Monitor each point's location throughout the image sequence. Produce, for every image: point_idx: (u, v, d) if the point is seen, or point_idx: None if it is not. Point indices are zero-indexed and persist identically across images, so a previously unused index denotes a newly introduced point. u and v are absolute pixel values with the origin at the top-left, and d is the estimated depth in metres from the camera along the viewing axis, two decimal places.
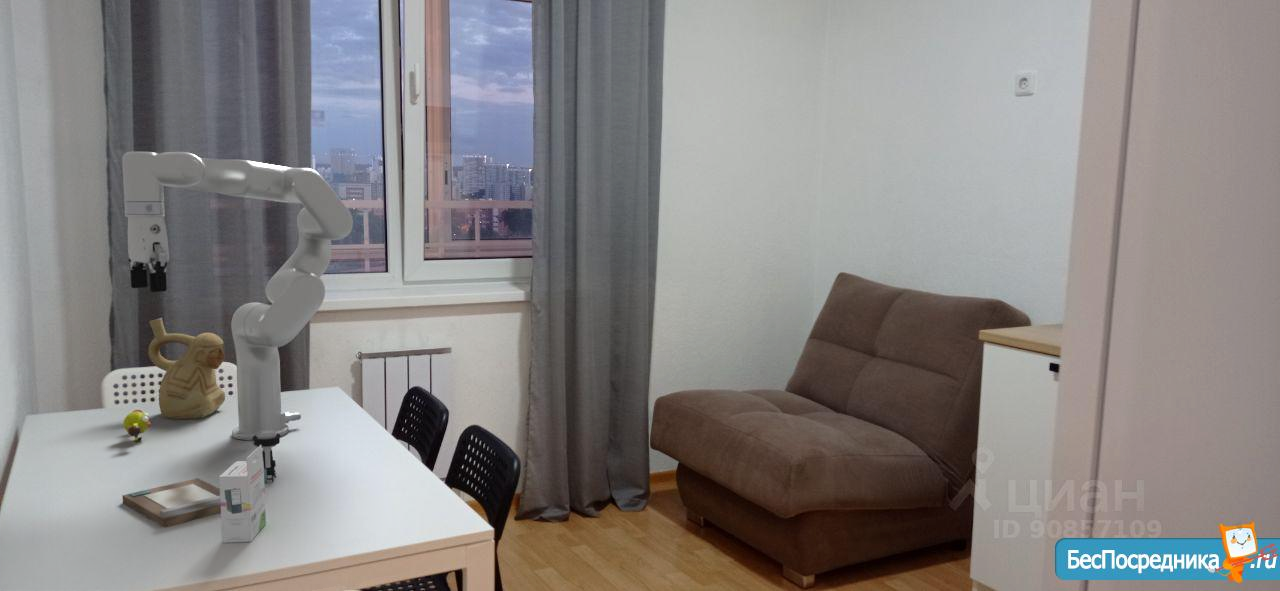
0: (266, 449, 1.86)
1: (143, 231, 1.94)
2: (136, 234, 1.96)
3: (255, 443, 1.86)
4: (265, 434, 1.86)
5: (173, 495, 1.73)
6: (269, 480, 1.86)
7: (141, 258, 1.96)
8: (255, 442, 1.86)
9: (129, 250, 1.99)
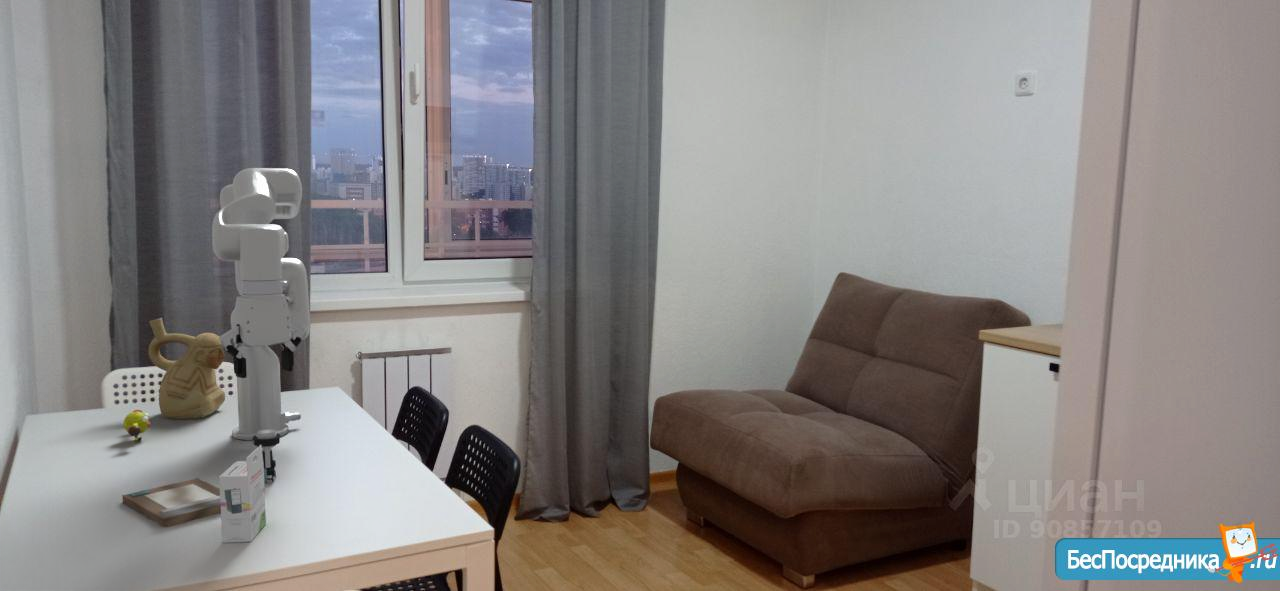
0: (266, 449, 1.86)
1: (286, 309, 1.85)
2: (275, 314, 1.83)
3: (255, 443, 1.86)
4: (265, 434, 1.86)
5: (173, 495, 1.73)
6: (269, 480, 1.86)
7: (280, 338, 1.85)
8: (255, 442, 1.86)
9: (251, 335, 1.80)
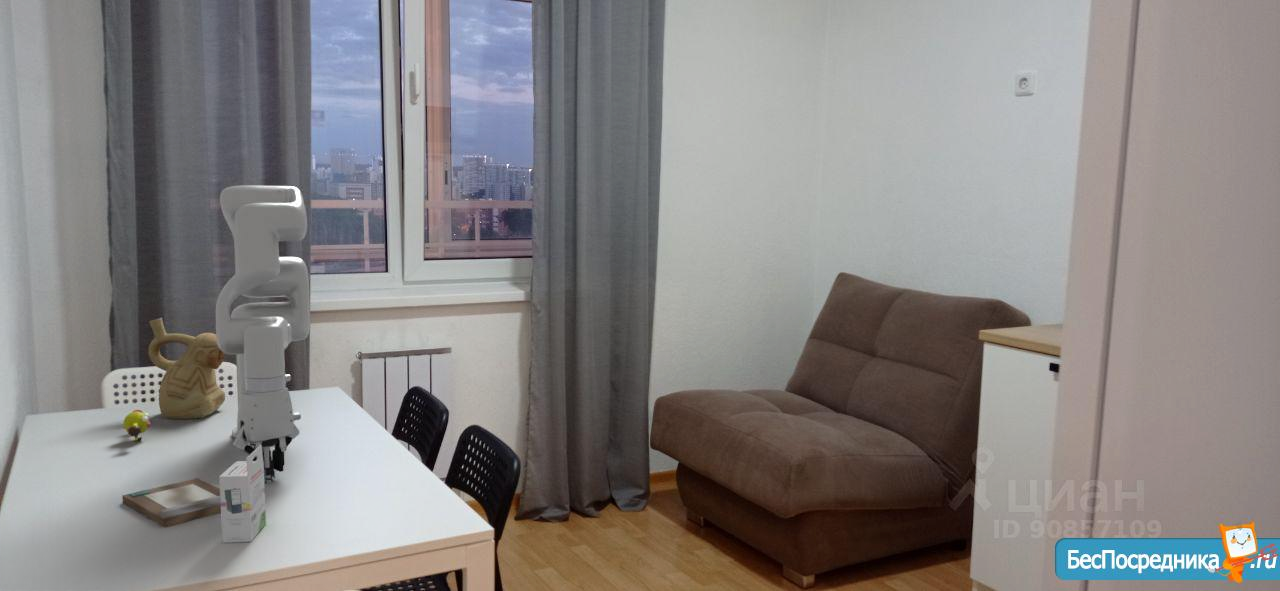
0: (265, 449, 1.86)
1: (289, 403, 1.88)
2: (278, 409, 1.86)
3: None
4: None
5: (173, 495, 1.73)
6: (268, 480, 1.86)
7: (283, 432, 1.87)
8: None
9: (255, 432, 1.83)
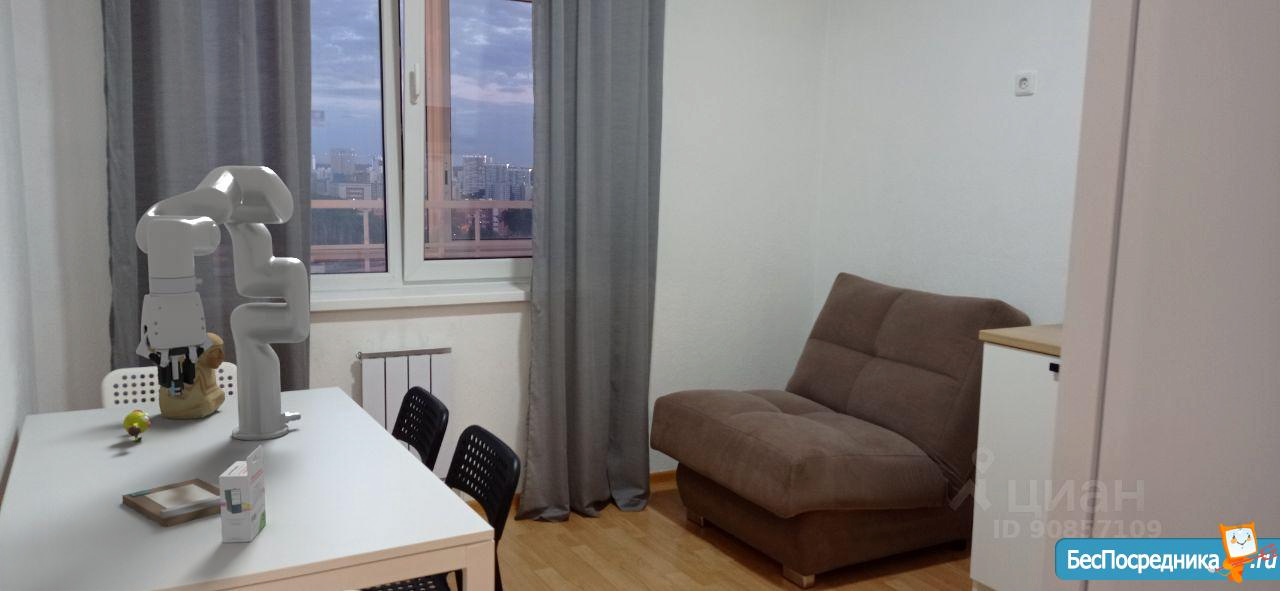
0: (173, 359, 1.69)
1: (200, 309, 1.71)
2: (187, 314, 1.69)
3: (160, 352, 1.68)
4: None
5: (173, 495, 1.73)
6: (177, 393, 1.69)
7: (193, 340, 1.70)
8: None
9: (159, 337, 1.65)
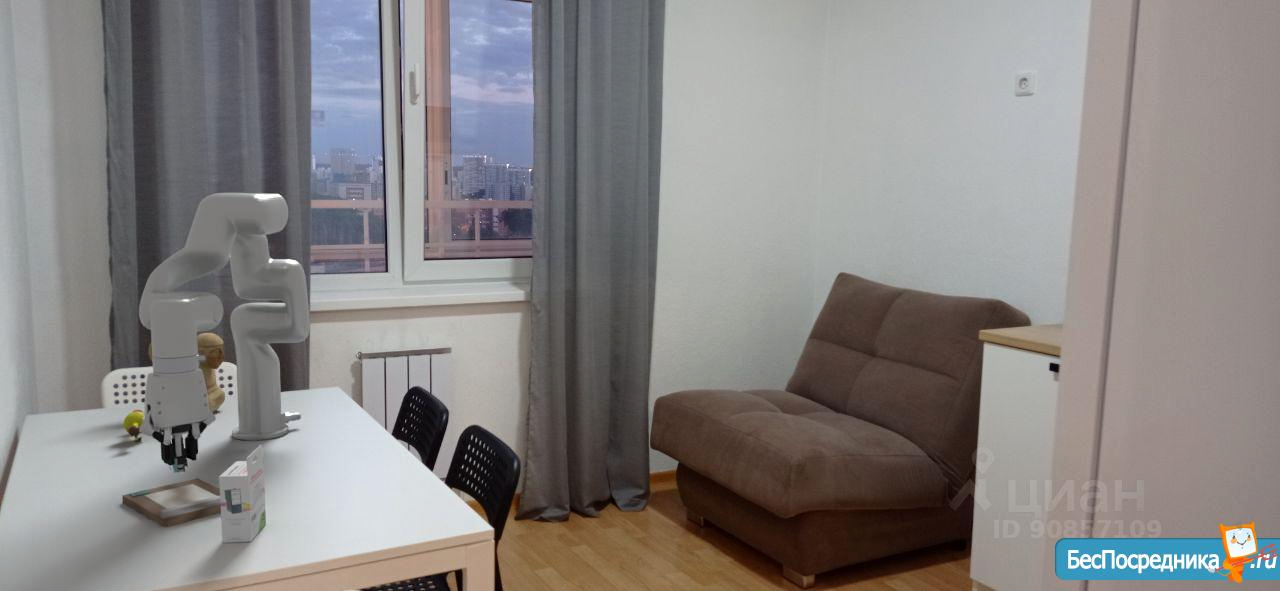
0: (176, 436, 1.71)
1: (203, 386, 1.72)
2: (190, 392, 1.70)
3: None
4: None
5: (173, 495, 1.73)
6: (180, 470, 1.71)
7: (196, 417, 1.72)
8: None
9: (163, 416, 1.67)
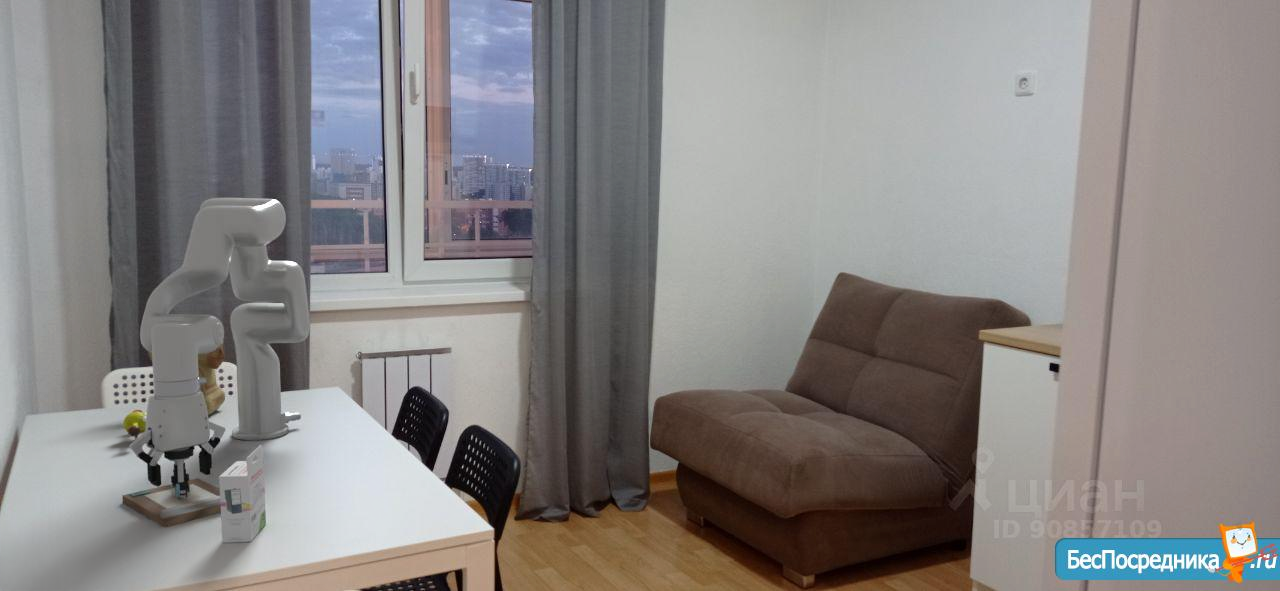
0: (179, 462, 1.71)
1: (204, 409, 1.73)
2: (191, 415, 1.71)
3: (166, 456, 1.71)
4: None
5: (173, 495, 1.73)
6: (183, 496, 1.71)
7: (197, 440, 1.72)
8: (166, 455, 1.71)
9: (164, 440, 1.68)
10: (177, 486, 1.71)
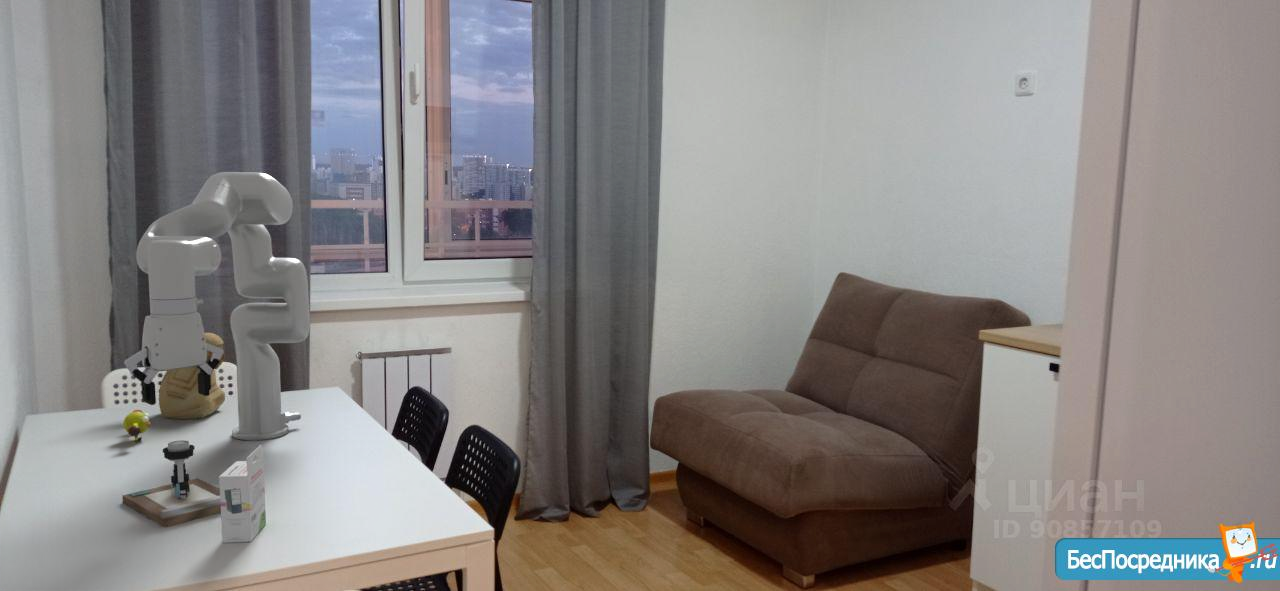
0: (179, 462, 1.71)
1: (201, 329, 1.71)
2: (188, 335, 1.69)
3: (166, 456, 1.71)
4: (177, 446, 1.71)
5: (173, 495, 1.73)
6: (183, 496, 1.71)
7: (194, 361, 1.71)
8: (166, 455, 1.71)
9: (160, 358, 1.66)
10: (177, 486, 1.71)
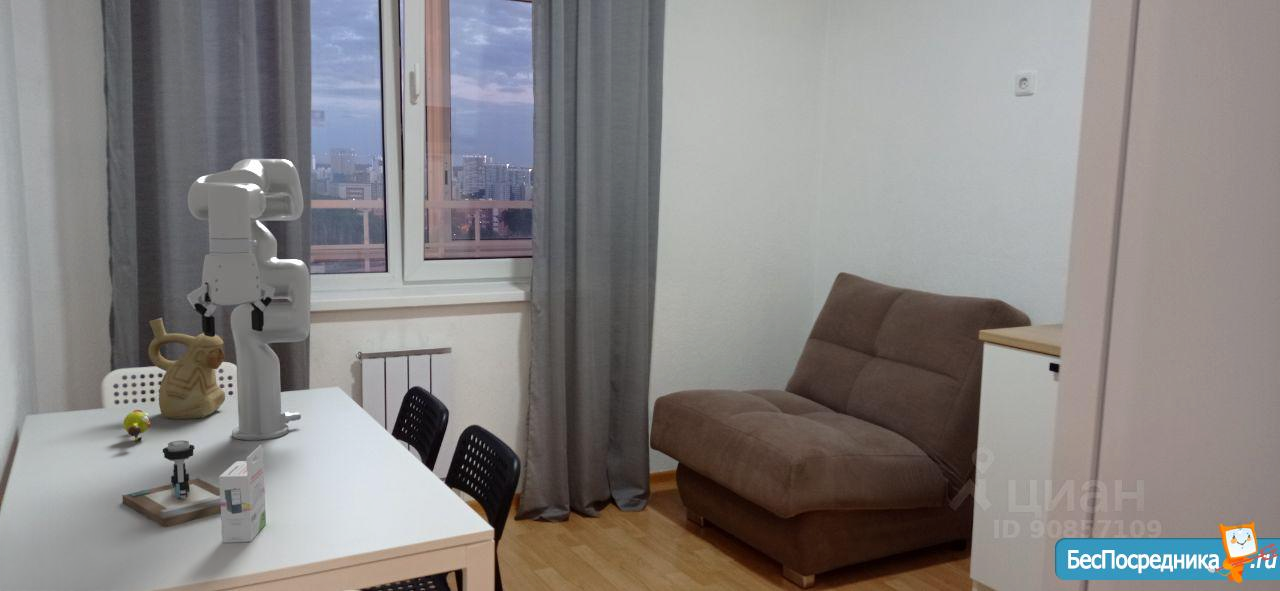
0: (179, 462, 1.71)
1: (256, 268, 1.84)
2: (244, 273, 1.82)
3: (166, 456, 1.71)
4: (177, 446, 1.71)
5: (173, 495, 1.73)
6: (183, 496, 1.71)
7: (249, 297, 1.84)
8: (166, 455, 1.71)
9: (219, 294, 1.79)
10: (177, 486, 1.71)
